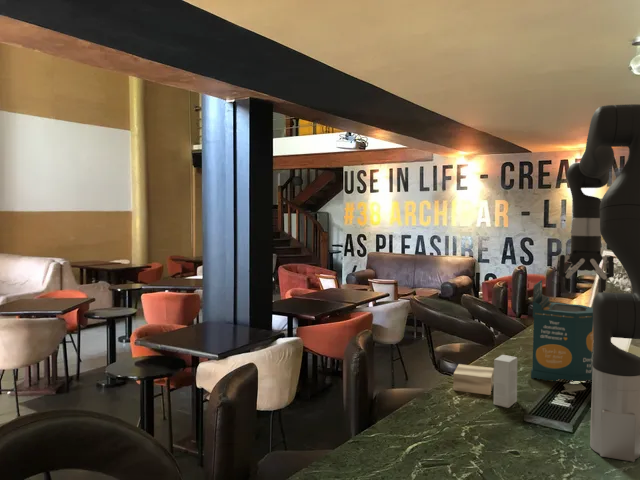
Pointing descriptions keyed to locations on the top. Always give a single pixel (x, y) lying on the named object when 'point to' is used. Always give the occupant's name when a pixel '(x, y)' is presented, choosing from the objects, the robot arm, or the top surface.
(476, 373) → the birch block
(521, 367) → the top surface
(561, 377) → the donation box
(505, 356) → the skincare box
